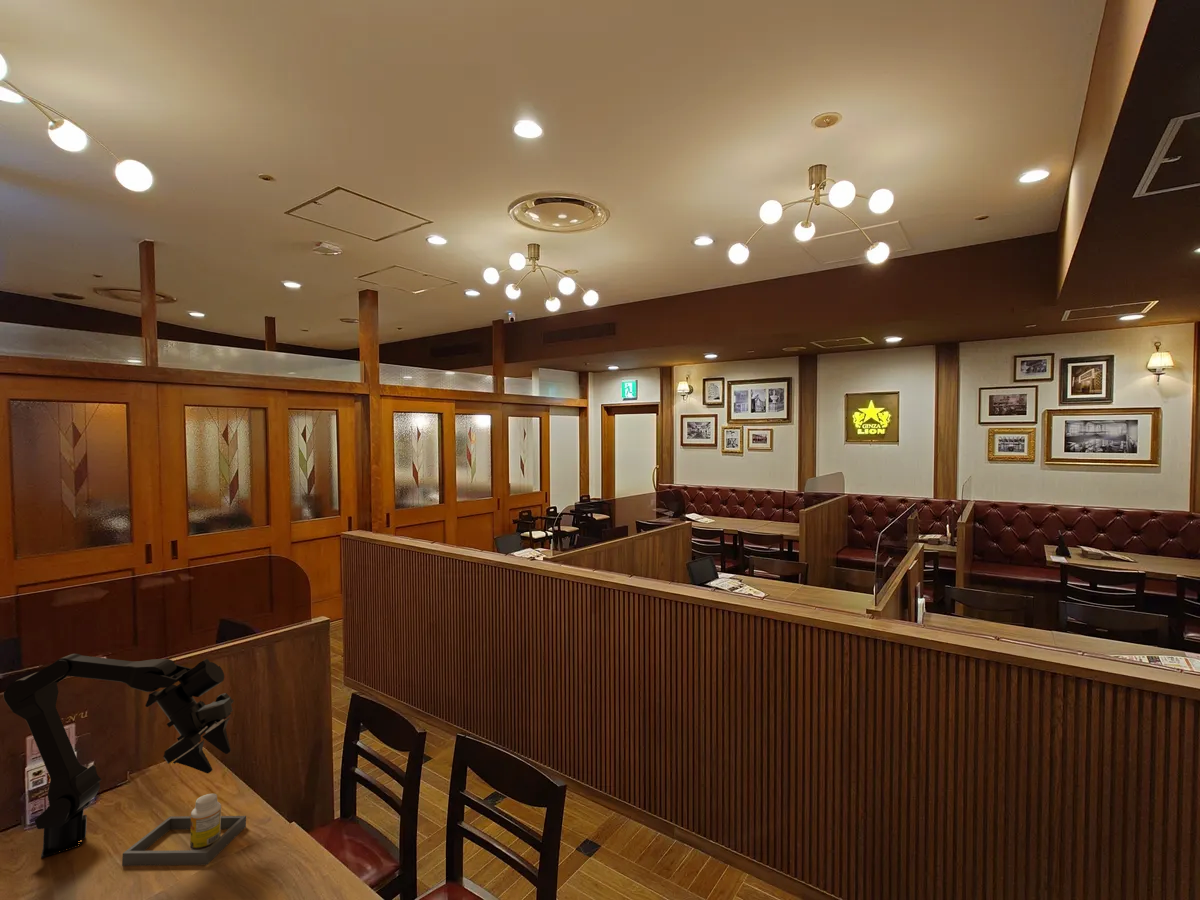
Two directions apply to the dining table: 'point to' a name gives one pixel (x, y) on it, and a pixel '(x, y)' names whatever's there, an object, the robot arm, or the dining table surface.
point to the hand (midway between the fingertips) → (219, 762)
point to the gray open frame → (181, 857)
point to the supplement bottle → (205, 822)
